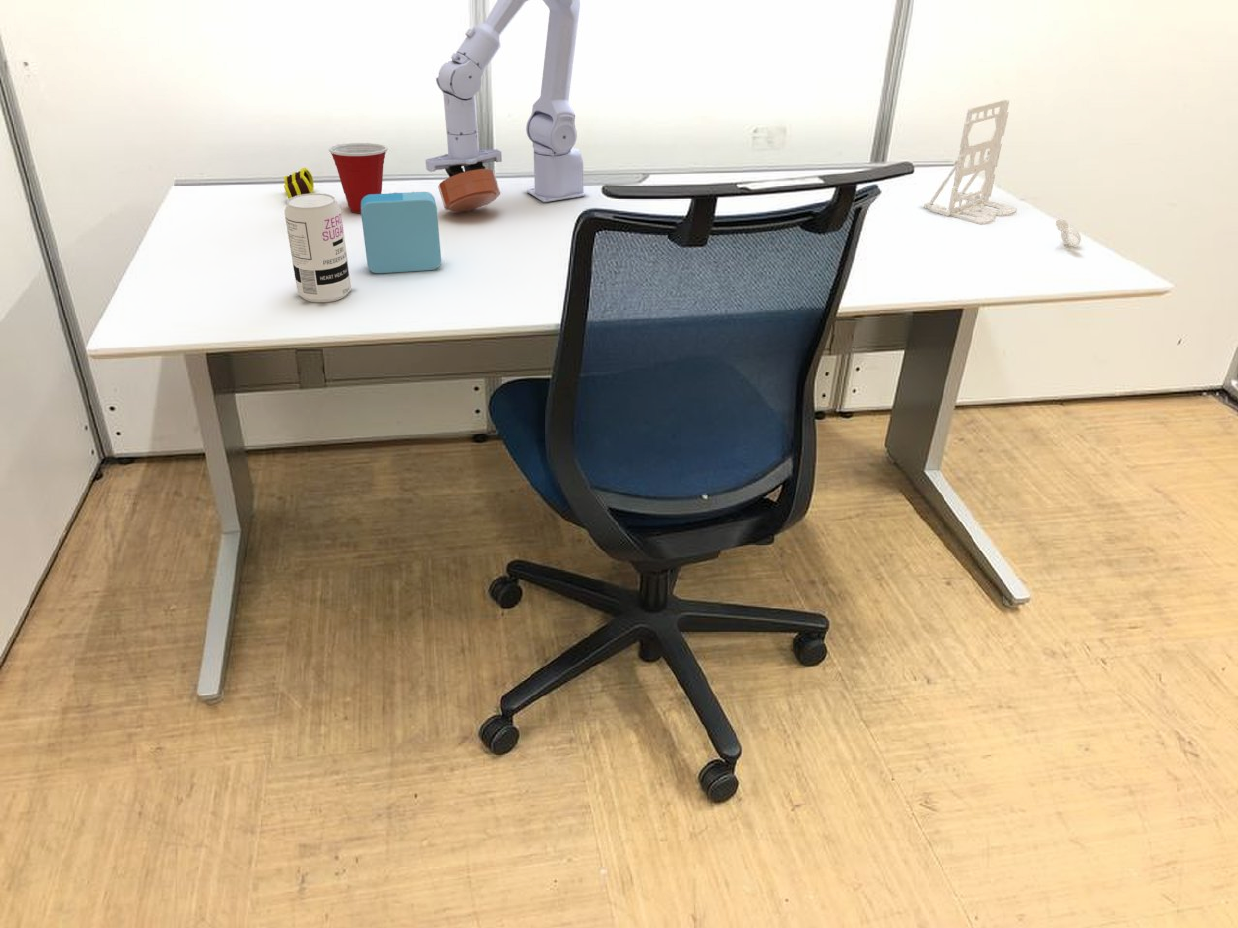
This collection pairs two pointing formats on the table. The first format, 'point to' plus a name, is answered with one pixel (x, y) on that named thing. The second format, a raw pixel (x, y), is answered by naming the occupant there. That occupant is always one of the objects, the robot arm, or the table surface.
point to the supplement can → (318, 247)
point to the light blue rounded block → (401, 232)
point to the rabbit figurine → (1068, 234)
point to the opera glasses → (299, 183)
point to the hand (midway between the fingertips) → (467, 203)
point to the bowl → (469, 190)
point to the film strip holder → (977, 171)
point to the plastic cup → (359, 170)
